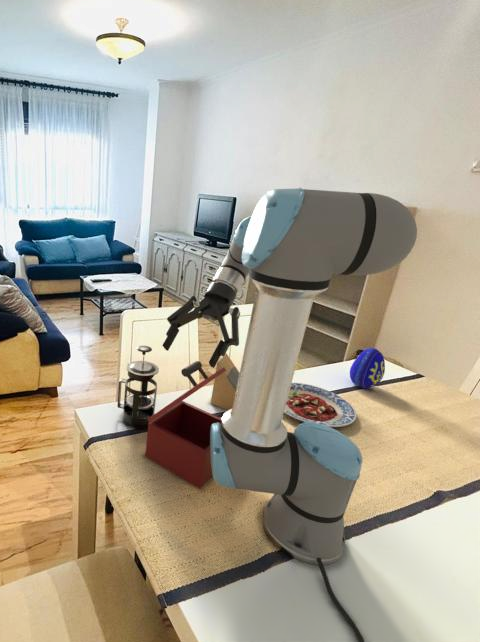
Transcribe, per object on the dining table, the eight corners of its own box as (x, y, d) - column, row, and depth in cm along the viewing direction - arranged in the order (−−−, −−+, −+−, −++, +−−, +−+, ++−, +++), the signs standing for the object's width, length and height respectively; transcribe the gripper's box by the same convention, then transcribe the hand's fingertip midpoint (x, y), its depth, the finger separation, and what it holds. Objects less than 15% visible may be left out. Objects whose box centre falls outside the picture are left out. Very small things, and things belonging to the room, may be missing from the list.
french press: (159, 415, 115) (167, 344, 106) (151, 432, 107) (159, 358, 98) (122, 406, 118) (127, 337, 110) (112, 422, 110) (116, 349, 101)
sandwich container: (258, 420, 115) (268, 376, 109) (210, 403, 122) (217, 361, 117) (265, 408, 122) (275, 365, 116) (218, 392, 129) (225, 352, 124)
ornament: (362, 394, 134) (376, 355, 128) (339, 382, 141) (351, 345, 136) (383, 389, 138) (397, 351, 132) (360, 378, 146) (372, 341, 140)
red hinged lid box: (230, 457, 99) (236, 425, 95) (200, 489, 88) (206, 453, 84) (177, 430, 108) (181, 400, 104) (145, 456, 97) (148, 422, 94)
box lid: (226, 370, 93) (212, 351, 94) (194, 392, 82) (178, 370, 83) (183, 400, 104) (170, 382, 105) (149, 422, 93) (136, 402, 95)
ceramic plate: (374, 427, 115) (377, 419, 114) (301, 436, 109) (303, 427, 108) (315, 385, 138) (317, 378, 137) (251, 390, 132) (253, 383, 131)
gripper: (271, 307, 98) (236, 379, 93) (187, 287, 112) (152, 348, 107) (268, 291, 92) (229, 366, 87) (180, 271, 107) (142, 335, 102)
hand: (187, 356), depth 97 cm, fingers open, 13 cm apart
